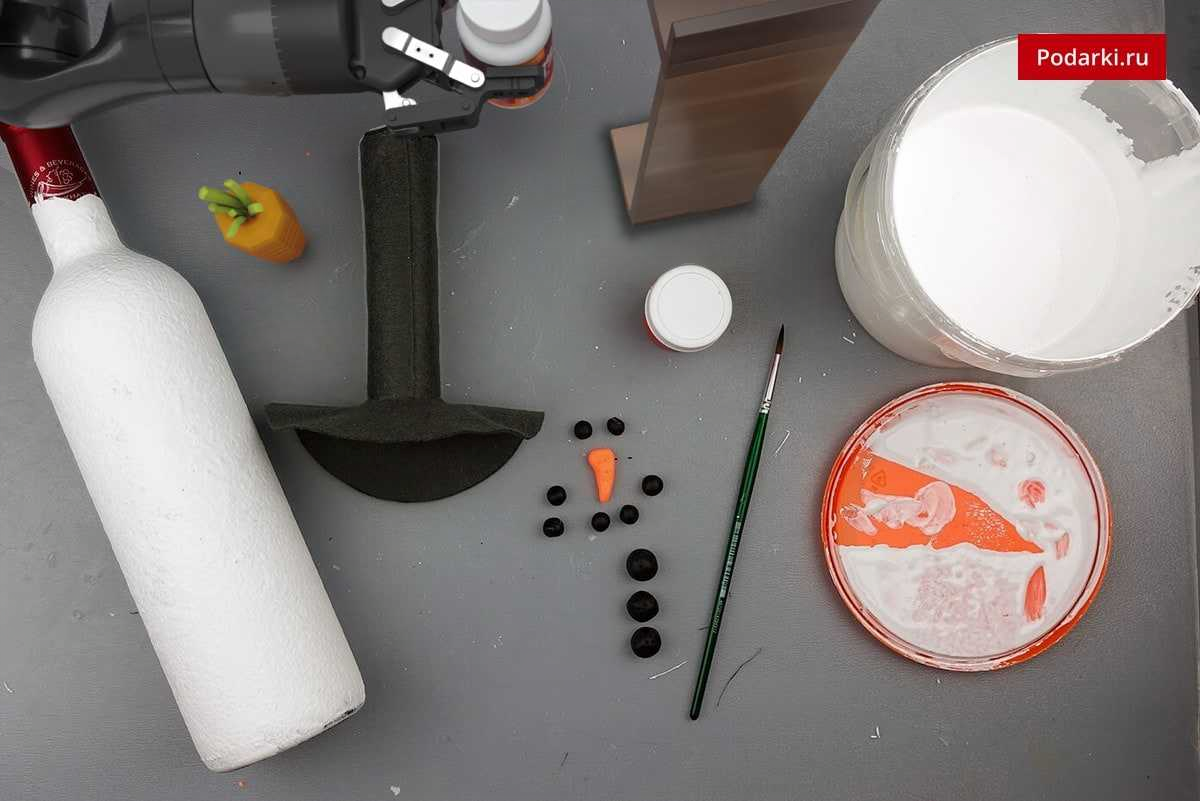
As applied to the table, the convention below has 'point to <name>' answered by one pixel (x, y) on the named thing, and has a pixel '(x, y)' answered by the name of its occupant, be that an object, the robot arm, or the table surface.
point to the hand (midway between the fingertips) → (541, 26)
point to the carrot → (256, 220)
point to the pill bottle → (507, 38)
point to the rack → (749, 30)
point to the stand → (717, 133)
